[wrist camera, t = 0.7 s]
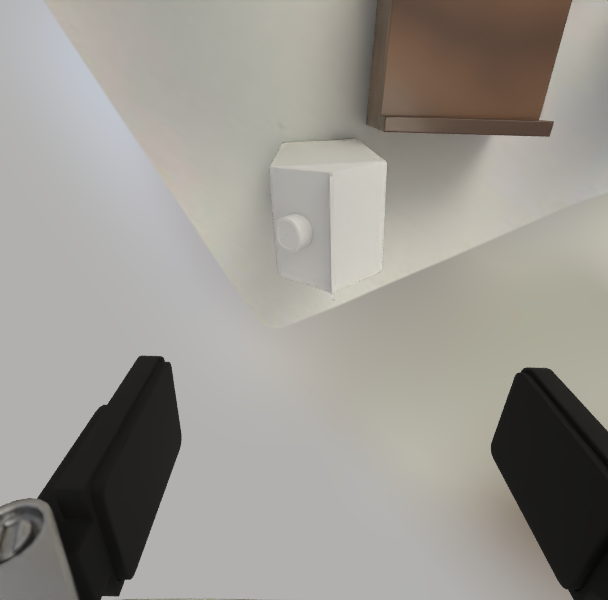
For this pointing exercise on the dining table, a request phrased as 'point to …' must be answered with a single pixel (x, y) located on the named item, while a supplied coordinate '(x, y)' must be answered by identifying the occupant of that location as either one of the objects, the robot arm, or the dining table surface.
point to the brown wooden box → (464, 65)
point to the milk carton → (328, 212)
